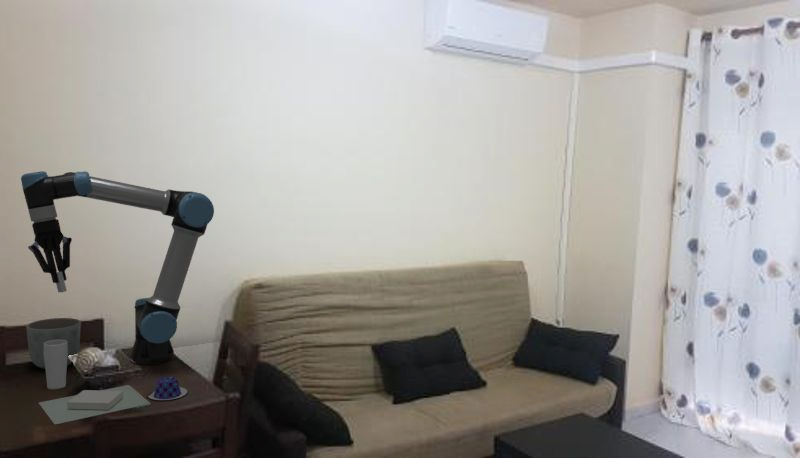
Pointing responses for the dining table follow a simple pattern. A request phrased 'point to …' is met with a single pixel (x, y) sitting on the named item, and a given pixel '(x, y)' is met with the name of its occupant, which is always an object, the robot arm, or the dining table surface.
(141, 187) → the robot arm
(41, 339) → the planter
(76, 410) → the rubber mat
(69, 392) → the dining table surface
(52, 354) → the drinking glass
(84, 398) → the ceramic tile
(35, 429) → the dining table surface
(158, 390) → the pudding
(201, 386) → the dining table surface
